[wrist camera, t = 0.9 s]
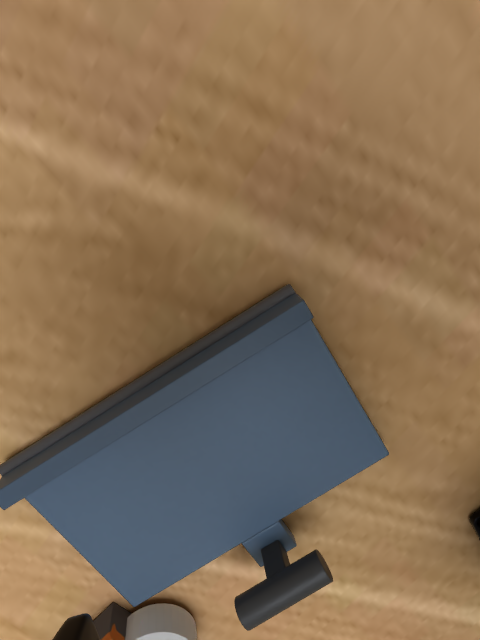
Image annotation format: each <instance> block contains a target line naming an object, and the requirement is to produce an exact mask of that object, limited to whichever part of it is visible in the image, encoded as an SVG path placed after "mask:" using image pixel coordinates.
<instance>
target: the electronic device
mask: <svg viewBox="0 0 480 640" xmlns="http://www.w3.org/2000/svg"><path fill="white" fill-rule="evenodd" d="M93 623H94V625H95V628H96V630H97V633H98V635H99V638H100V640H197V630H196V623H195V621H194V619H193V617H192V616H191V614H190V613H189V612H187V611H186V610H185V609H183V608H181V607H179V606H176V605H173V604H166V603H161V604H153V605H148V606H145V607H143V608H140V609H139V610H137V611H135V612H134V613H130V612H128V611H127V610H125V609H124V608H122V607H120V606H119V605H117V604H115V603H114V602H113V603H112V604H111V605H110V606H109V607H108V608H107V609H105V610H104V611H103V612H102V613H101V614H100V615H99V616H98V617H97V618H96V619H95V620H94V621H93Z"/></svg>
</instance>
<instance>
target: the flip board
mask: <svg viewBox="0 0 480 640" xmlns="http://www.w3.org/2000/svg"><path fill="white" fill-rule="evenodd" d="M312 318H313V315H312V313H311V312H310V310H309V308H308V306H307V305H306V303H305V301H304V300H303V299H302V298H301V297H299V296H298V295H297V294H296V293H295V291H294V289H293V288H292V286H291V285H290V284H287V285H286V286H284V287H282V288H281V289H279V290H278V291H276V292H275V293H273V294H271V295H270V296H268V297H267V298H265V299H263V300H262V301H260V302H259V303H257V304H255V305H254V306H252V307H251V308H249V309H247V310H246V311H244V312H243V313H241V314H239V315H238V316H236V317H235V318H233V319H232V320H230V321H228V322H227V323H225V324H224V325H222V326H220V327H219V328H217V329H216V330H214V331H212V332H211V333H209V334H208V335H206V336H204V337H203V338H201V339H200V340H198V341H196V342H195V343H193V344H192V345H190V346H188V347H187V348H185V349H184V350H182V351H181V352H179V353H177V354H176V355H174V356H173V357H171V358H169V359H168V360H166V361H165V362H163V363H161V364H160V365H158V366H157V367H155V368H153V369H152V370H150V371H149V372H147V373H145V374H144V375H142V376H141V377H139V378H138V379H136V380H134V381H133V382H131V383H130V384H128V385H126V386H125V387H123V388H122V389H120V390H118V391H117V392H115V393H114V394H112V395H110V396H109V397H107V398H106V399H104V400H102V401H101V402H99V403H98V404H96V405H95V406H93V407H91V408H90V409H88V410H87V411H85V412H83V413H82V414H80V415H79V416H77V417H75V418H74V419H72V420H71V421H69V422H67V423H66V424H64V425H63V426H61V427H59V428H58V429H56V430H55V431H53V432H52V433H50V434H48V435H47V436H45V437H44V438H42V439H40V440H39V441H37V442H36V443H34V444H32V445H31V446H29V447H28V448H26V449H24V450H23V451H21V452H20V453H18V454H16V455H15V456H13V457H12V458H10V459H9V460H7V461H5V462H4V463H2V464H1V465H0V474H1V475H2V478H1V479H0V507H1V508H2V509H3V510H5V509H7V508H8V507H10V506H12V505H13V504H15V503H16V502H18V501H20V500H21V499H23V498H25V499H26V500H27V501H28V502H29V503H30V504H31V505H32V506H33V507H34V508H35V509H36V510H37V511H38V512H39V513H40V514H41V515H42V516H43V517H44V518H45V519H46V520H47V521H48V522H49V523H50V524H51V525H52V526H53V527H54V528H55V529H56V530H57V531H58V532H59V533H60V534H61V535H62V536H63V537H64V538H65V539H66V540H67V541H68V542H69V543H70V544H71V545H72V546H73V547H74V548H75V549H76V550H77V551H78V552H79V553H80V554H81V555H82V556H83V557H84V558H85V559H86V560H87V561H88V562H89V563H90V564H91V565H92V566H93V567H94V568H95V569H96V570H97V571H98V572H99V573H100V574H101V575H102V576H103V577H104V578H105V579H106V580H107V581H108V582H109V583H110V584H111V585H112V586H113V587H114V588H115V589H116V590H117V591H118V592H119V593H120V594H121V595H122V596H123V597H124V598H125V599H126V600H127V601H128V602H129V603H130V604H131V605H132V606H133V607H135V606H137V605H139V604H140V603H142V602H144V601H145V600H147V599H149V598H150V597H152V596H154V595H155V594H157V593H159V592H160V591H162V590H164V589H165V588H167V587H169V586H170V585H172V584H174V583H175V582H177V581H179V580H181V579H182V578H184V577H186V576H187V575H189V574H191V573H192V572H194V571H196V570H197V569H199V568H201V567H202V566H204V565H206V564H207V563H209V562H211V561H212V560H214V559H216V558H217V557H219V556H221V555H222V554H224V553H226V552H227V551H229V550H231V549H232V548H234V547H236V546H237V545H239V544H241V543H242V545H243V546H244V547H245V548H246V549H247V551H248V552H249V553H250V554H251V556H252V557H253V558H254V559H255V561H256V562H257V563H258V564H259V566H260V567H262V566H264V568H265V572H266V577H267V579H265V580H264V581H262V582H260V583H259V584H257V585H255V586H254V587H252V588H250V589H248V590H247V591H245V592H243V593H242V594H240V595H238V596H237V597H236V598H235V609H236V612H237V615H238V618H239V620H240V622H241V624H242V625H243V627H244V628H245V629H246V630H251V629H253V628H255V627H256V626H258V625H260V624H261V623H263V622H265V621H266V620H268V619H270V618H272V617H273V616H275V615H277V614H278V613H280V612H282V611H283V610H285V609H287V608H289V607H290V606H292V605H294V604H295V603H297V602H299V601H300V600H302V599H304V598H306V597H307V596H309V595H311V594H312V593H314V592H316V591H317V590H319V589H321V588H323V587H324V586H326V585H328V584H329V583H331V582H333V578H332V575H331V572H330V570H329V568H328V566H327V564H326V562H325V560H324V558H323V557H322V555H321V554H320V552H319V551H318V550H314V551H313V552H311V553H309V554H307V555H306V556H304V557H302V558H301V559H299V560H297V561H296V562H294V563H292V564H291V565H290V563H289V559H288V556H287V551H289V550H291V549H292V548H294V547H296V541H295V538H294V536H293V534H292V533H291V532H290V530H289V529H288V528H287V526H286V525H285V524H284V522H283V521H282V520H281V519H282V518H284V517H286V516H287V515H289V514H291V513H292V512H294V511H296V510H297V509H299V508H301V507H302V506H304V505H306V504H307V503H309V502H311V501H312V500H314V499H316V498H317V497H319V496H321V495H322V494H324V493H326V492H327V491H329V490H331V489H332V488H334V487H336V486H337V485H339V484H341V483H342V482H344V481H346V480H347V479H349V478H351V477H352V476H354V475H356V474H357V473H359V472H361V471H362V470H364V469H366V468H367V467H369V466H371V465H372V464H374V463H376V462H377V461H379V460H381V459H382V458H384V457H386V456H387V455H389V452H388V450H387V449H386V447H385V445H384V444H383V442H382V440H381V438H380V437H379V435H378V433H377V432H376V430H375V428H374V426H373V425H372V423H371V421H370V420H369V418H368V416H367V414H366V413H365V411H364V409H363V408H362V406H361V404H360V402H359V401H358V399H357V397H356V396H355V394H354V392H353V390H352V389H351V387H350V385H349V384H348V382H347V380H346V379H345V377H344V375H343V373H342V372H341V370H340V368H339V367H338V365H337V363H336V361H335V360H334V358H333V356H332V355H331V353H330V351H329V349H328V348H327V346H326V344H325V343H324V341H323V339H322V337H321V336H320V334H319V332H318V331H317V329H316V327H315V325H314V324H313V322H312V320H311V319H312Z"/></svg>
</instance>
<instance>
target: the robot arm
mask: <svg viewBox="0 0 480 640" xmlns="http://www.w3.org/2000/svg"><path fill="white" fill-rule="evenodd" d="M469 520H470V523H471V525H472V527H473V529H474V530H475V532H476V534H477V536H478V538H479V540H480V510H478V511H476V512H475V513H473V514H472V515H471V516H470V519H469ZM53 640H100V638H99V635H98V633H97V630H96V628H95V625H94V623H93V620H92V618H91V616H90V615H89V614H81V615H77V616H73V617H70V618H68V619H67V620H66V621H65V622H64V624H63V625H62V627H61V628H60V630H59V631H58V632H57V634H56V635H55V637H54V638H53Z"/></svg>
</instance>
